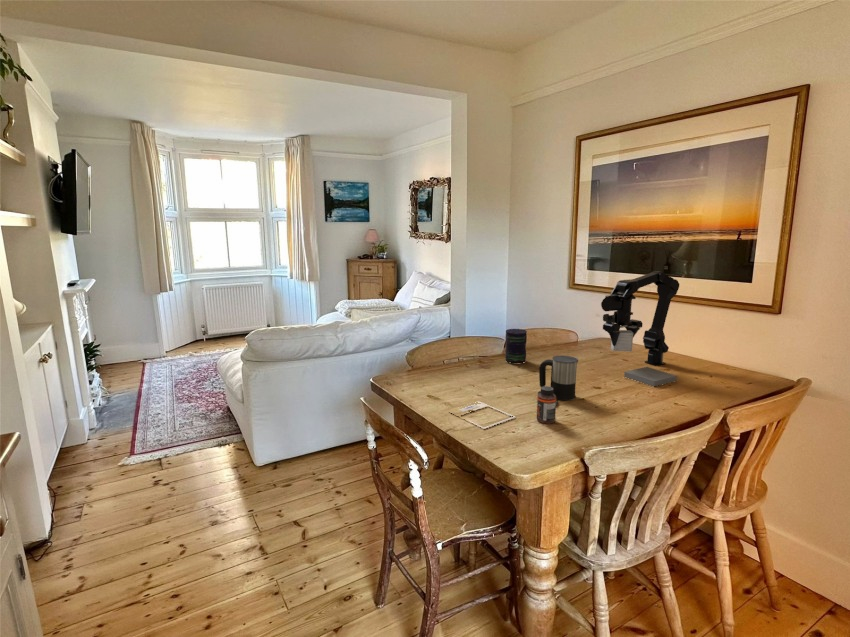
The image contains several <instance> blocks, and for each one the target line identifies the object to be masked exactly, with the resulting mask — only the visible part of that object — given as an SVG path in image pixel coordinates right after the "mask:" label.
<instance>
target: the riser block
mask: <svg viewBox="0 0 850 637" xmlns="http://www.w3.org/2000/svg"><path fill="white" fill-rule="evenodd" d="M623 377H624V378H625V377H627V378H626V379H628V378H629V379H628V380H631V379H633V380H632V381H634V380H636V381H635V382H637V381H639V382H638V383H640V382H642V383H641V384H643V383H644V384H643V385H646V384H648V385H647V386H649V385H651V386H650V387H652V386H657V387H659V386H658V385H661V386H663V385H662V384H665V385H667V384H666V383H669V384H671V383H670V382H673V383H675V382H674V381H678V375H675V374H673V373H669V372H665V371H663V370H660V369H656V368H652V367H649V366H646V367H640V368H635V369H631V370H626V371H624V376H623Z"/></svg>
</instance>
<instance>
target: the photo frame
mask: <svg viewBox="0 0 850 637" xmlns="http://www.w3.org/2000/svg"><path fill="white" fill-rule="evenodd" d="M474 402H475V403H476V402H478V403H481V404H477V405H475V404H474V405H471V406H468V407H465V408H462V409H459V410H460V411H462V412H465V411H468V410H472V409H473V410H477V409H481V408H483V407H487V406H489V407H491V408H493V409H496V410H498V411H500V412H502V413H504V414H503V415H505V414H506V415H505V416H507V415H508V417H509V416H511V417H509V418H506V419H503V420H500V421H497V422H495V423H492V424H490V425H487V426H482V425H480V424H479V423H478V424H477V423H476V422H474V424H475V425H477V426H479V427H481V428H483V429H486V428H488V429H490V428H489V427H491V426H494V425H496V426H498V425H497V424H499V425H501V424H500V423H502V424H504V423H503V422H505V423H507V422H509V421H508V420H510V421H512V420H511V419H513V420H515V419H517V417H516V416H515V415H512V414H511V413H507V412H506V411H503V410H501V409H498V408H496V407H493V406H492V405H489V404H486V403H484V402H481V401H480V400H477V401H474ZM487 408H488V407H487ZM491 408H490V409H491ZM493 409H492V410H493ZM481 410H482V409H481ZM498 411H497V412H498ZM470 412H471V411H470ZM500 412H499V413H500ZM467 413H468V412H467ZM502 413H501V414H502ZM512 416H513V417H512ZM468 420H469V421H470V422H471V423H473V421H472V420H470V419H468ZM506 421H507V422H506ZM471 423H470V424H471ZM475 425H474V426H475ZM477 426H476V427H477ZM479 427H478V428H479ZM494 427H495V426H494ZM481 428H480V429H481ZM491 428H492V427H491ZM483 429H482V430H483ZM486 430H487V429H486Z"/></svg>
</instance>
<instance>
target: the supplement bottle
mask: <svg viewBox="0 0 850 637" xmlns="http://www.w3.org/2000/svg"><path fill="white" fill-rule="evenodd" d="M540 391H541V392H540V393H539V394H538V393H537V397H536V398H537V401H536V402H537V403H536V420H537V421H538V423H541V424H546V425H547V424H553V423H555V421H556V408H557V404H556V395H555V394H553V388H552V387H551V386H549V385H545V386H543V387H540Z"/></svg>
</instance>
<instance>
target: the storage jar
mask: <svg viewBox="0 0 850 637" xmlns="http://www.w3.org/2000/svg"><path fill="white" fill-rule="evenodd" d="M527 333H528V332H527V330H526V329H522V328H508V329H506V330H505V352H504V353H505V354H504V357H505V360H506V361H507V362H511V363H523V362H525V361H526V360H527V358H526V357H527V350H526V348H527V347H526V346H527V340H528V338H527ZM526 362H527V361H526Z"/></svg>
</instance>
